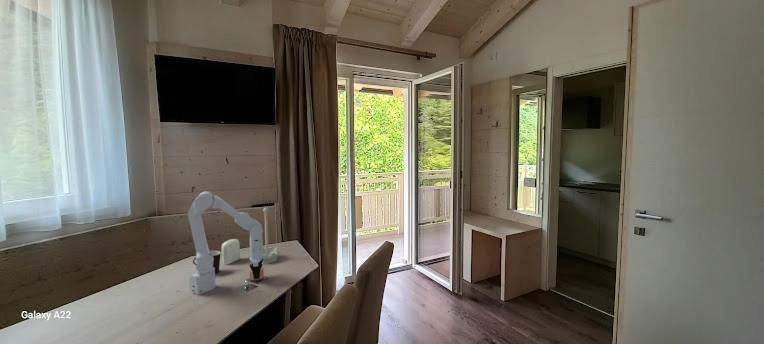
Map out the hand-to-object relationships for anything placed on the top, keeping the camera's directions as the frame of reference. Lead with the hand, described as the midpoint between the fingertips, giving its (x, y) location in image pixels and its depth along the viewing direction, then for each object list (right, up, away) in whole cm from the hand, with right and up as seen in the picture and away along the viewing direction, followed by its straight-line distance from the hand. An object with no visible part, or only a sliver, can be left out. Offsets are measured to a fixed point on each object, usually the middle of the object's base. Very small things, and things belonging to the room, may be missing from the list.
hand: (257, 275), depth 148 cm
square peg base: (0, -3, 0) cm, 3 cm away
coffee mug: (-29, -2, +10) cm, 31 cm away
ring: (0, -1, 0) cm, 1 cm away
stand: (-1, -4, -8) cm, 9 cm away
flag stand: (-6, -1, +28) cm, 29 cm away
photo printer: (-25, -1, +25) cm, 35 cm away
